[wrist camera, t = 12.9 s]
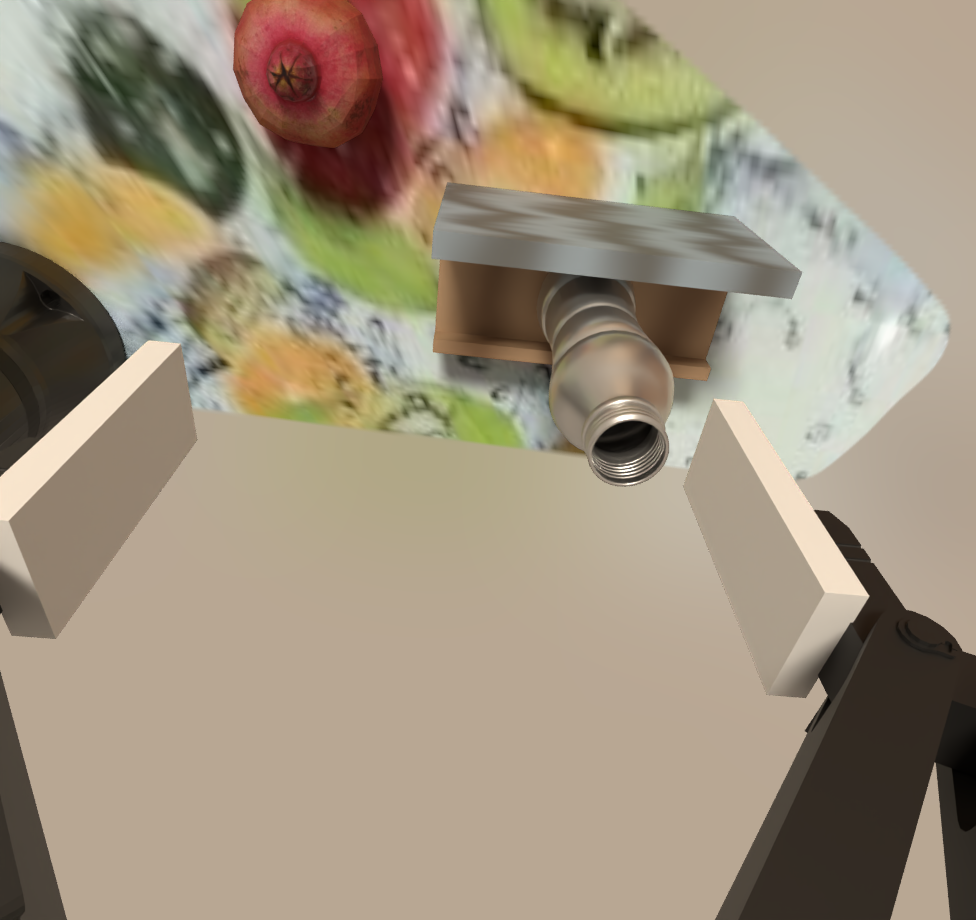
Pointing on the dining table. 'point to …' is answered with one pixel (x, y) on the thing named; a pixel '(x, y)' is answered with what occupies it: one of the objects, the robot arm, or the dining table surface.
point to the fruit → (308, 69)
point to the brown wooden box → (590, 270)
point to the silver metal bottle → (606, 377)
